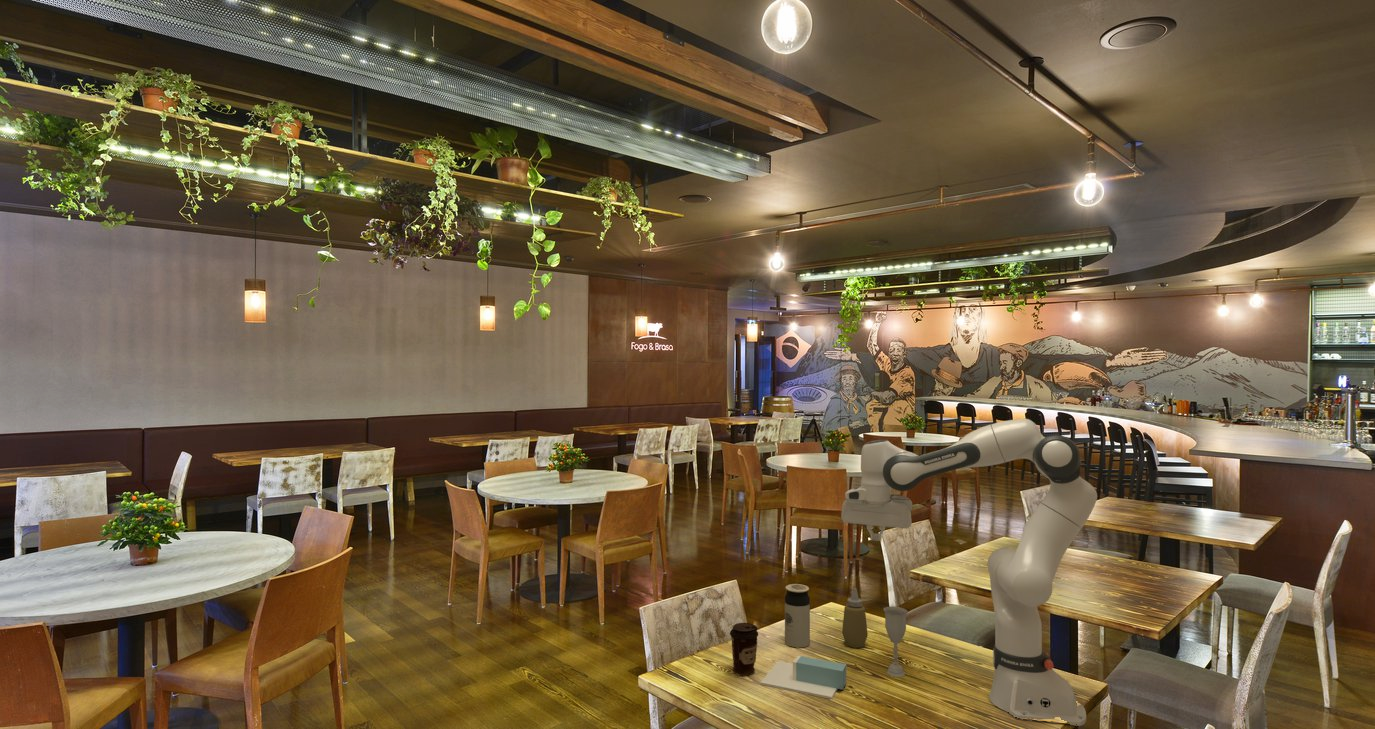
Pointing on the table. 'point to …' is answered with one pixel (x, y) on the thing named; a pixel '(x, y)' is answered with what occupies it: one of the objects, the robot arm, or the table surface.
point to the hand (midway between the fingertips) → (875, 540)
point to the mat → (794, 682)
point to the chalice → (895, 635)
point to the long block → (819, 672)
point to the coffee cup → (744, 648)
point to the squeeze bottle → (854, 622)
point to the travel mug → (797, 616)
